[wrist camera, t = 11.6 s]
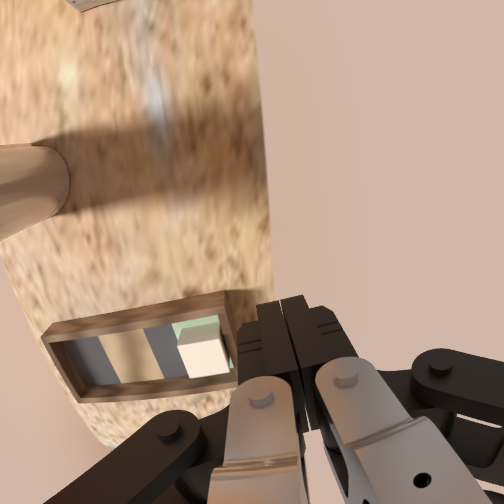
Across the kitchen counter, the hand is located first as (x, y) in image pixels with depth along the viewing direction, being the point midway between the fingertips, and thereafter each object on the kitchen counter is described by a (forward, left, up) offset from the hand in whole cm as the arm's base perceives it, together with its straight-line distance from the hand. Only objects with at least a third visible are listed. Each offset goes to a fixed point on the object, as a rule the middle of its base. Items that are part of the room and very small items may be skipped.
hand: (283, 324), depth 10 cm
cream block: (+7, -17, -26) cm, 32 cm away
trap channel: (+2, -24, -27) cm, 36 cm away
